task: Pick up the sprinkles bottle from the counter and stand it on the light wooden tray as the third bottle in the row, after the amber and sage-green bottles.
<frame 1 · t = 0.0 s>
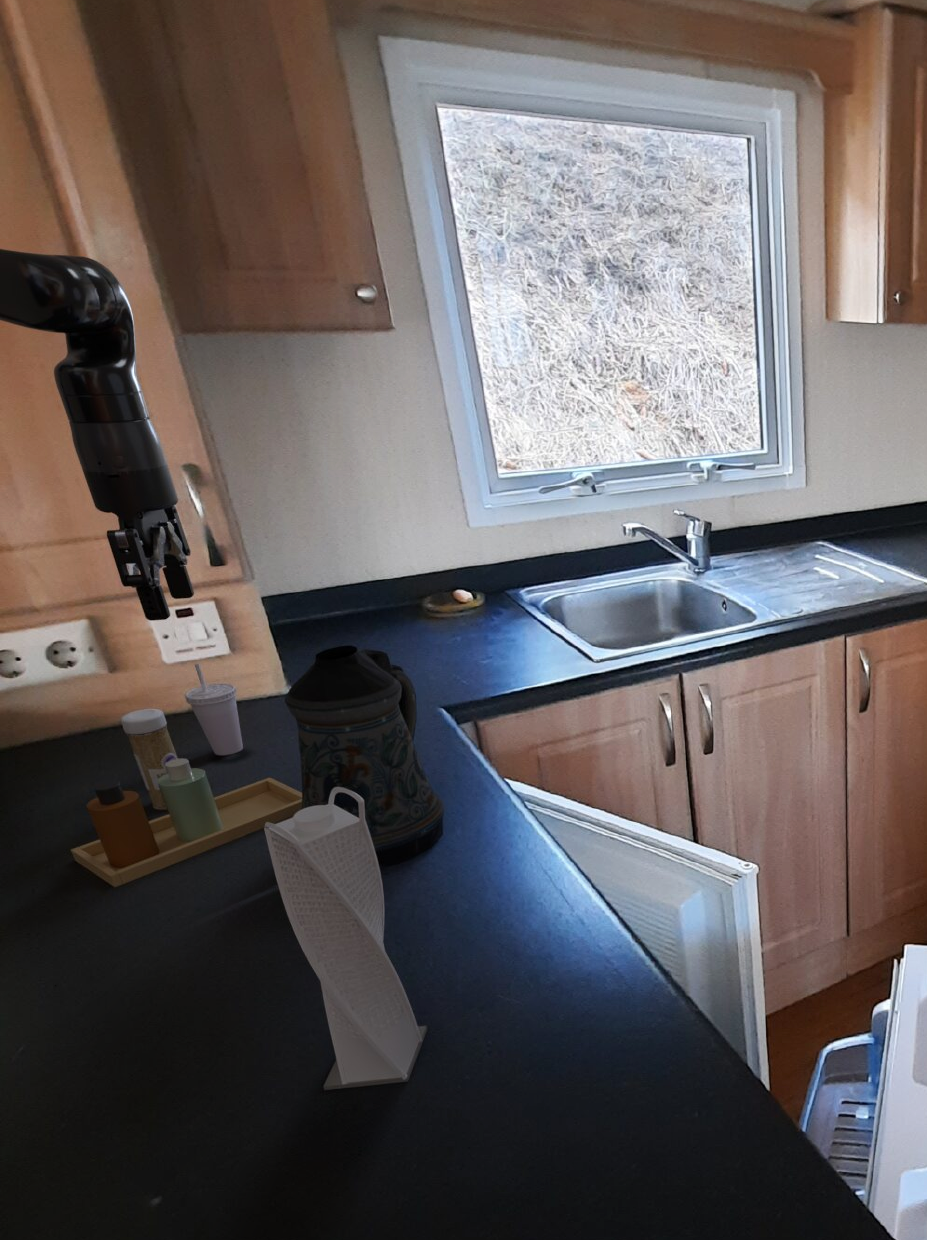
hand: (171, 608, 113), 30 cm above the countertop, tool pointing down, fingers open, 8 cm apart
beer stein: (379, 835, 127), on the countertop
sprinkles bottle: (174, 806, 133), on the countertop
sage bottle: (200, 832, 125), point 1 cm above the countertop, touching tray
smoothie: (229, 751, 148), on the countertop
tray: (202, 836, 125), on the countertop
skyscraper: (385, 1063, 90), on the countertop
amber bottle: (135, 857, 119), point 1 cm above the countertop, touching tray
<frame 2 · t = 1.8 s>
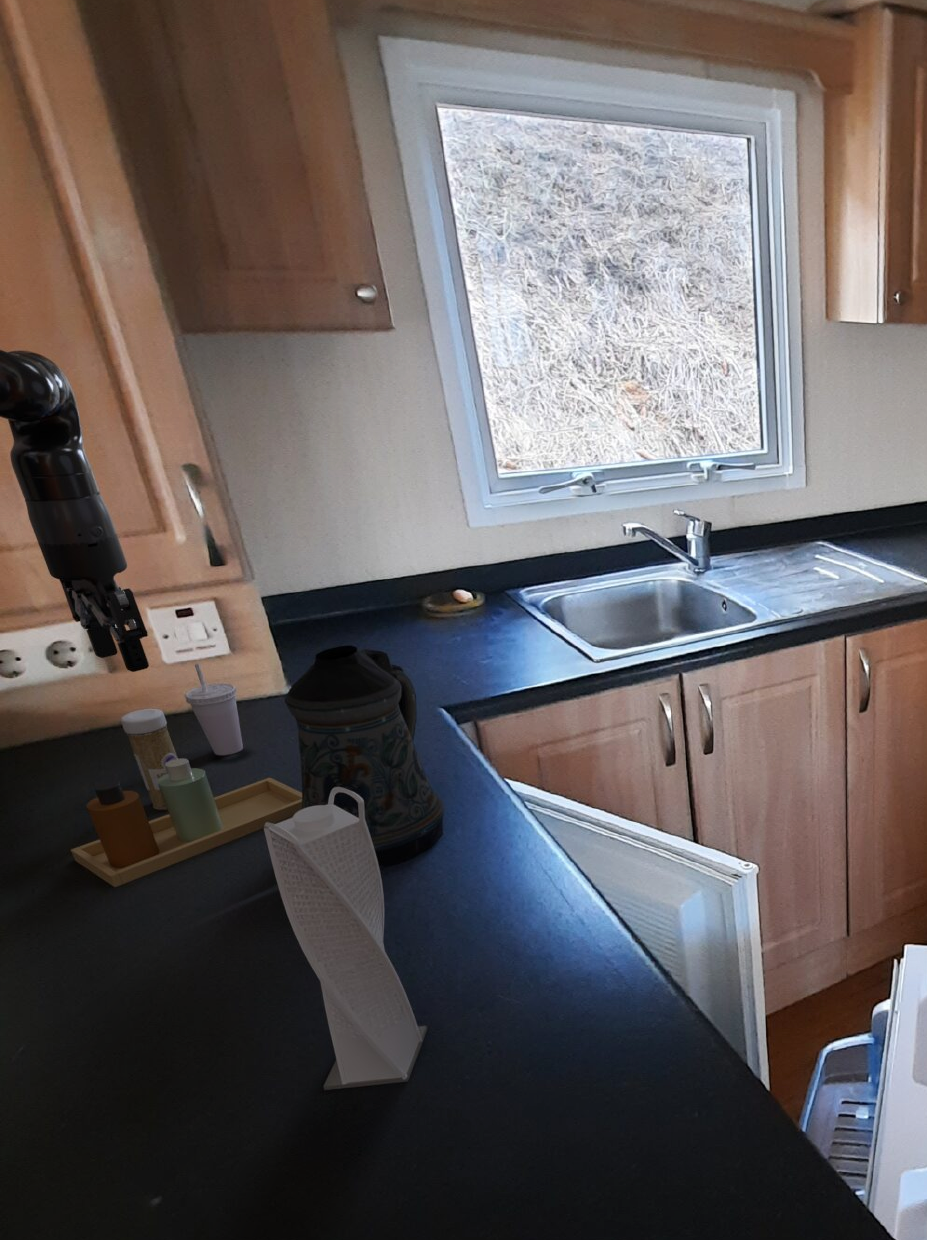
hand: (123, 662, 123), 21 cm above the countertop, tool pointing down, fingers open, 8 cm apart
nothing on the countertop moved.
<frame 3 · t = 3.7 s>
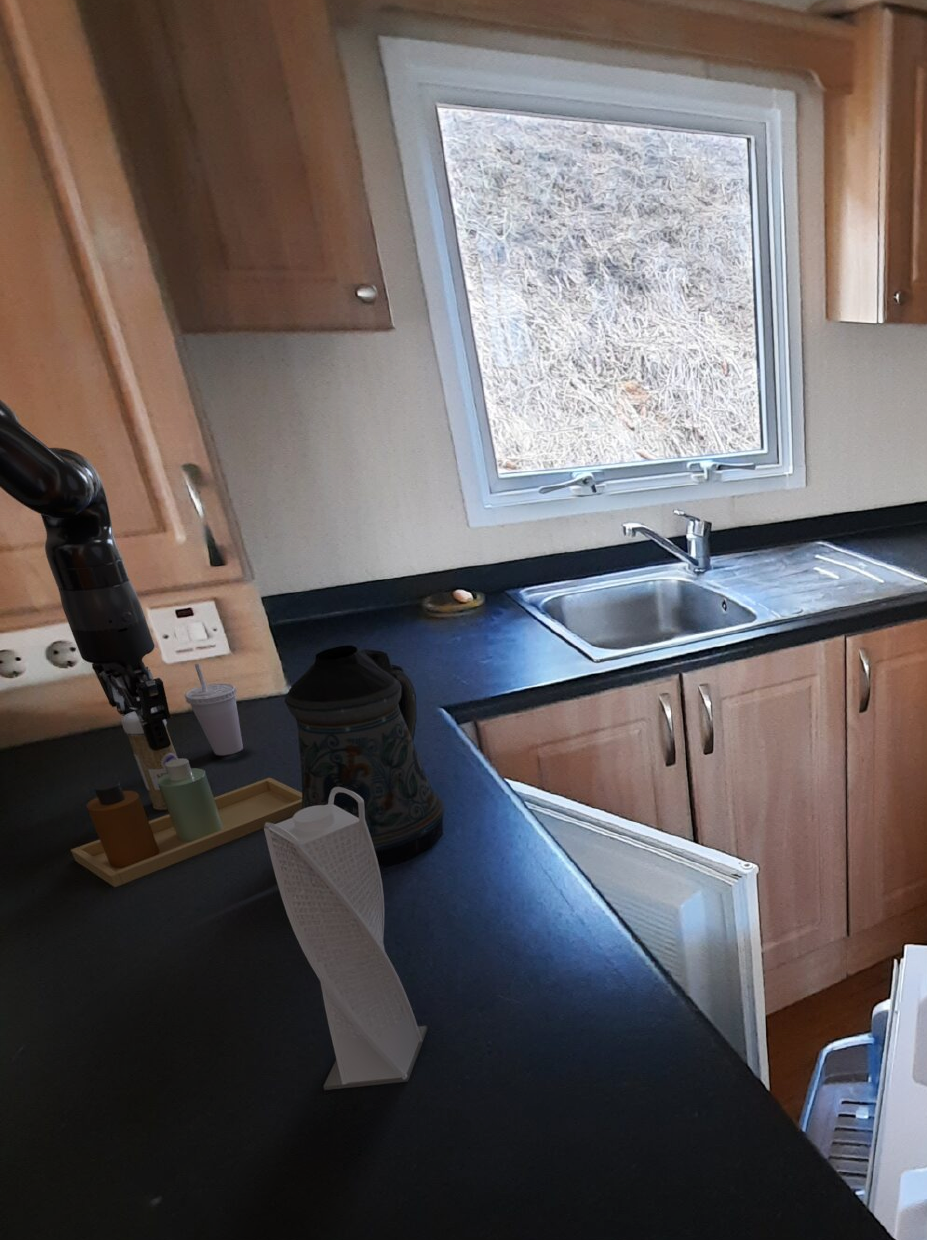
hand: (151, 742, 128), 9 cm above the countertop, tool pointing down, fingers closed on sprinkles bottle, 4 cm apart
sprinkles bottle: (174, 806, 133), on the countertop, touching gripper
everything else where it was.
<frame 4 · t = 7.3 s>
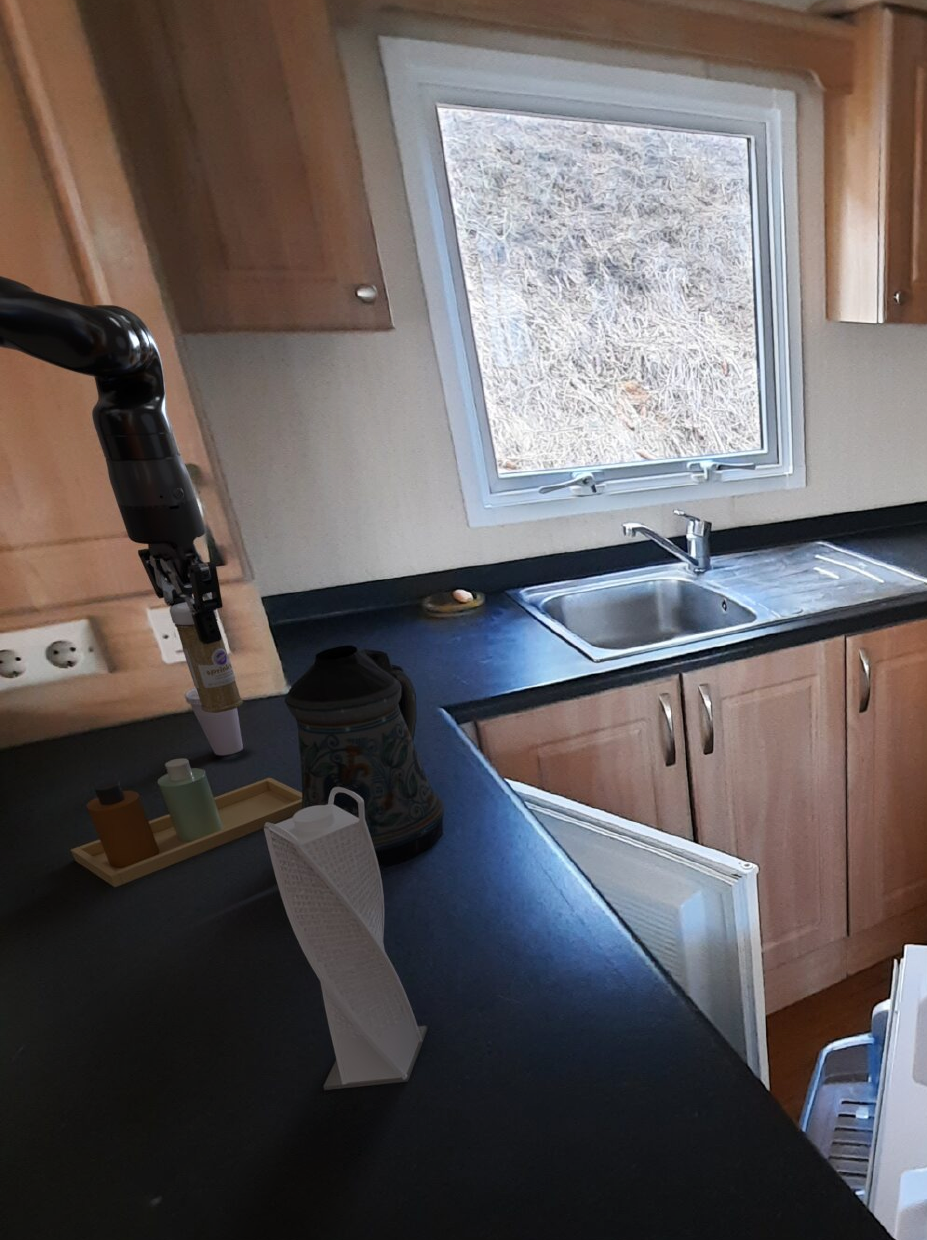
hand: (200, 637, 120), 25 cm above the countertop, tool pointing down, fingers closed on sprinkles bottle, 4 cm apart
sprinkles bottle: (223, 708, 124), point 15 cm above the countertop, touching gripper
everything else where it was.
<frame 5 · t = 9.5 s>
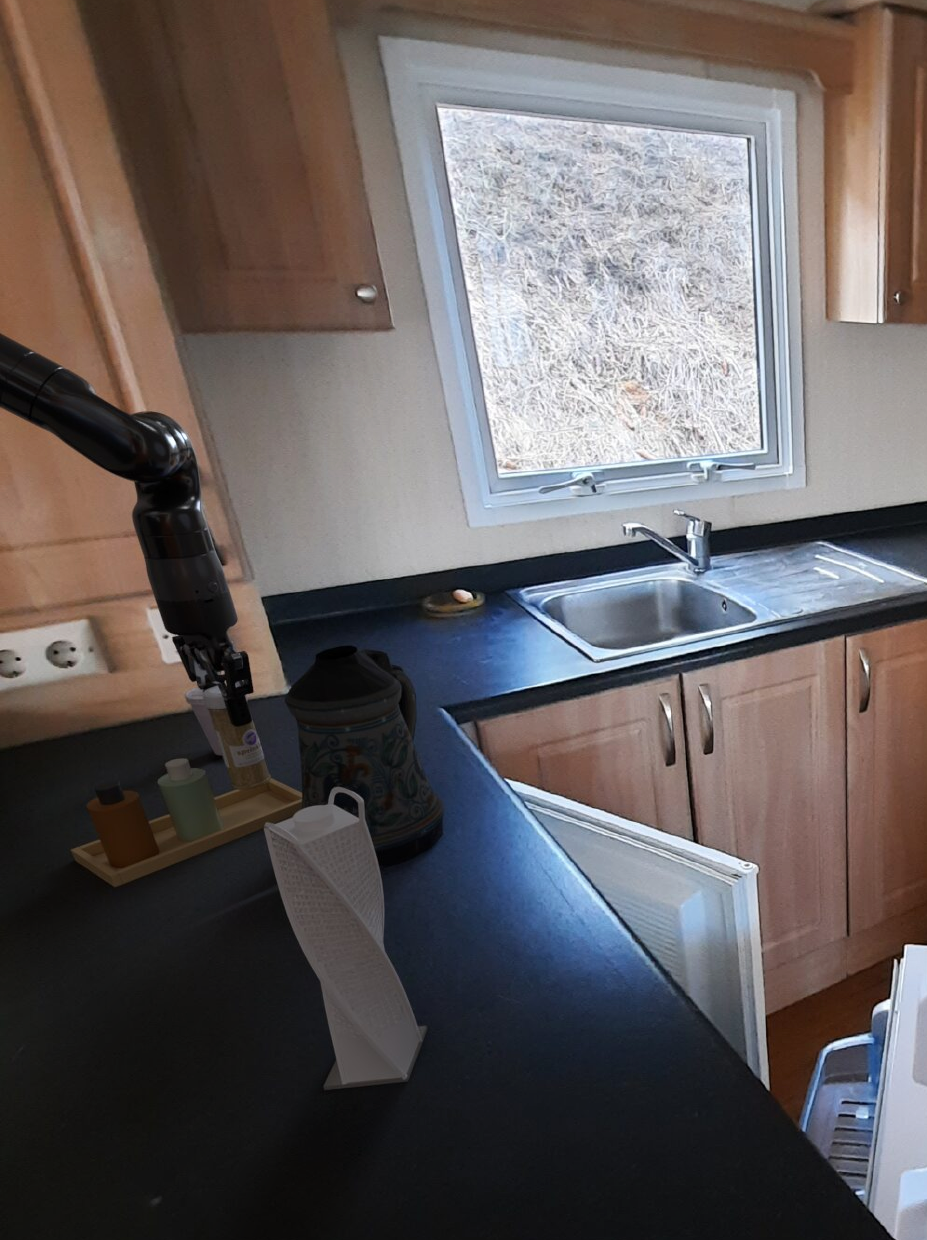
hand: (231, 719, 125), 14 cm above the countertop, tool pointing down, fingers closed on sprinkles bottle, 4 cm apart
sprinkles bottle: (252, 784, 129), point 4 cm above the countertop, touching gripper
everything else where it was.
when the fingers open (10 cm above the countertop, at t = 10.9 s): sprinkles bottle stays where it is, resting on tray.
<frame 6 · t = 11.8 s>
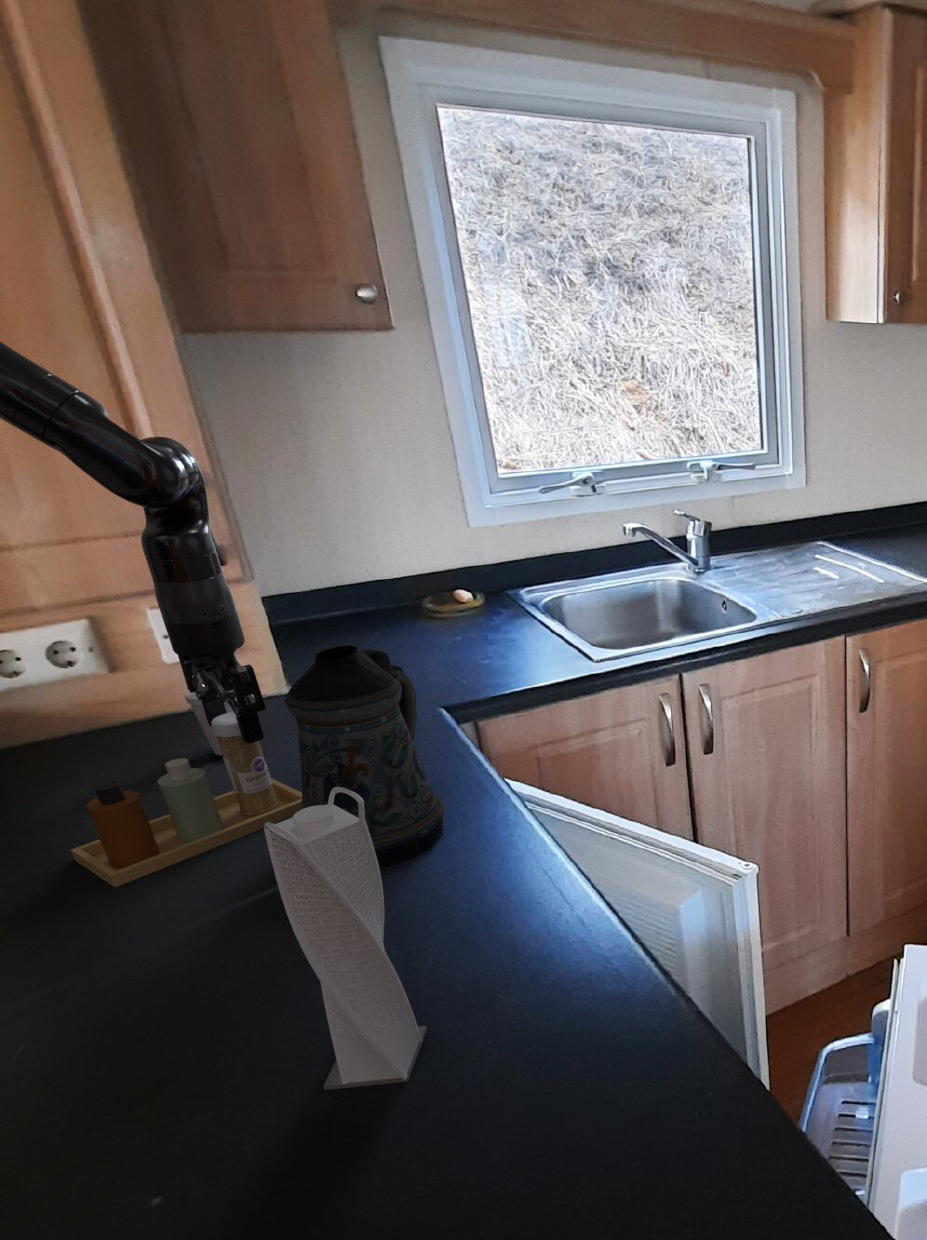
hand: (236, 733, 126), 12 cm above the countertop, tool pointing down, fingers open, 8 cm apart
sprinkles bottle: (260, 810, 131), resting on tray
everything else where it was.
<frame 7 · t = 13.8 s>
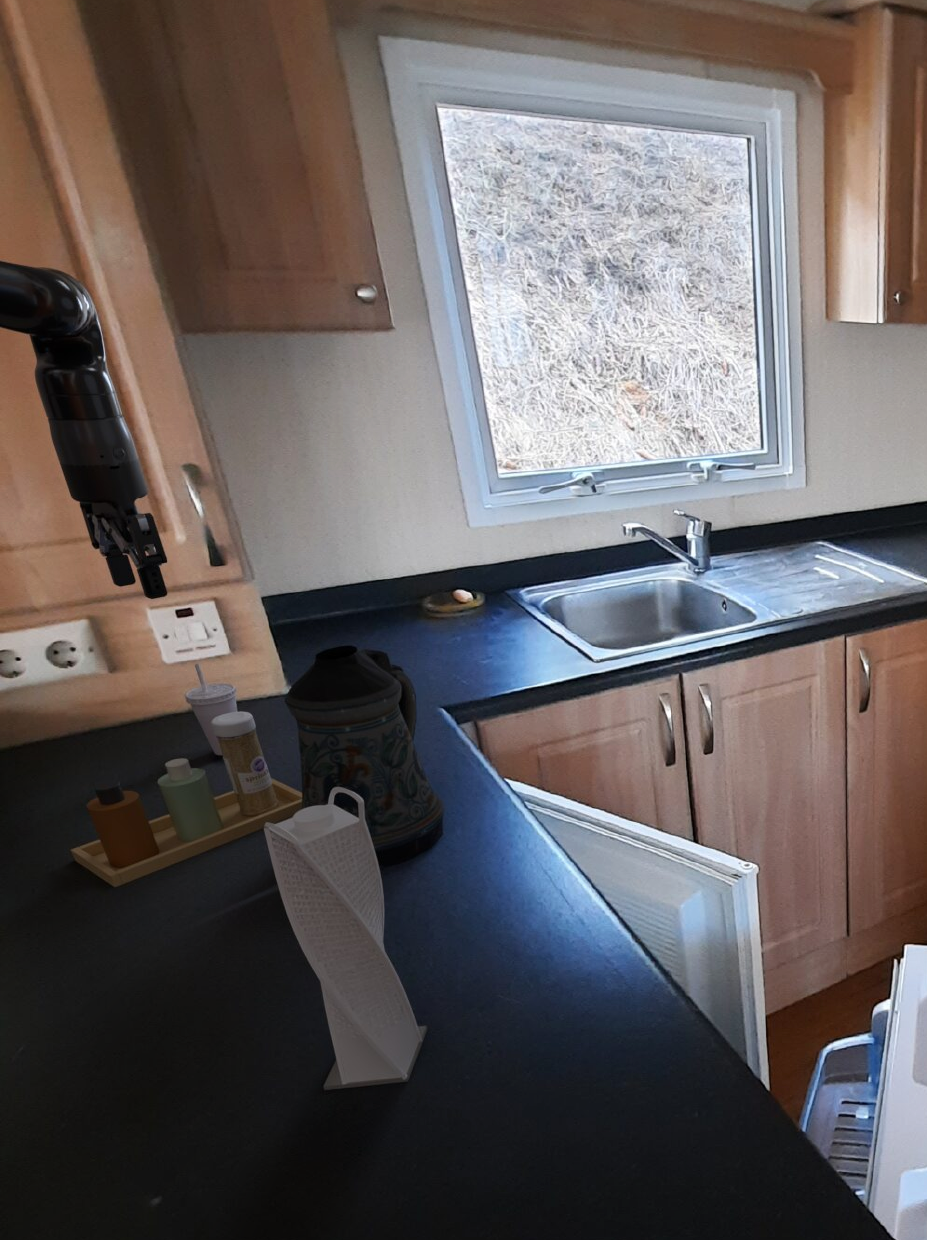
hand: (141, 591, 122), 29 cm above the countertop, tool pointing down, fingers open, 8 cm apart
nothing on the countertop moved.
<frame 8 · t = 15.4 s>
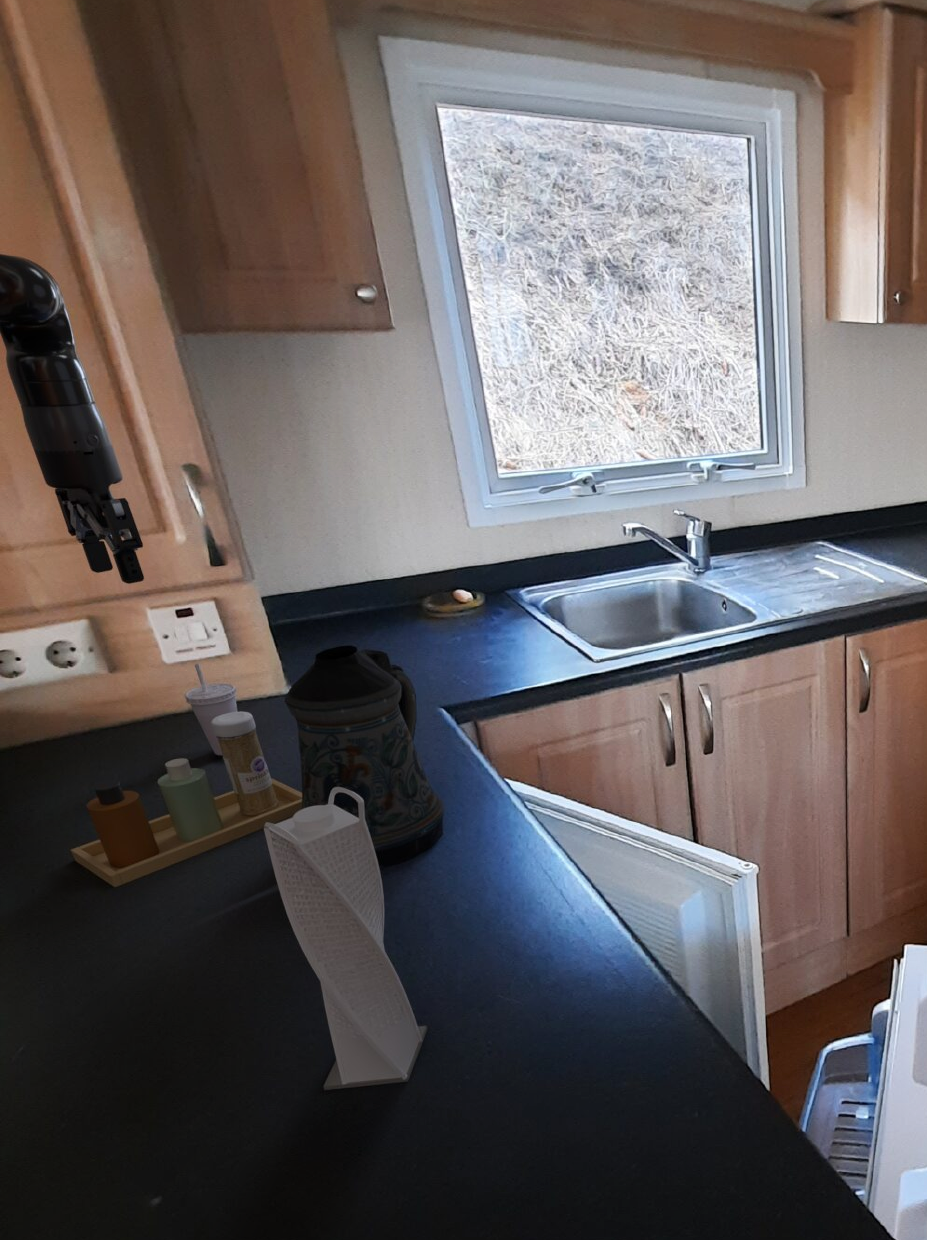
hand: (118, 576, 124), 30 cm above the countertop, tool pointing down, fingers open, 8 cm apart
nothing on the countertop moved.
at the end: sprinkles bottle 0.1 cm from the target spot in the tray, point 0.4 cm above the tray's base; sprinkles bottle tilted 0°; sage bottle moved 0.0 cm from its start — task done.
